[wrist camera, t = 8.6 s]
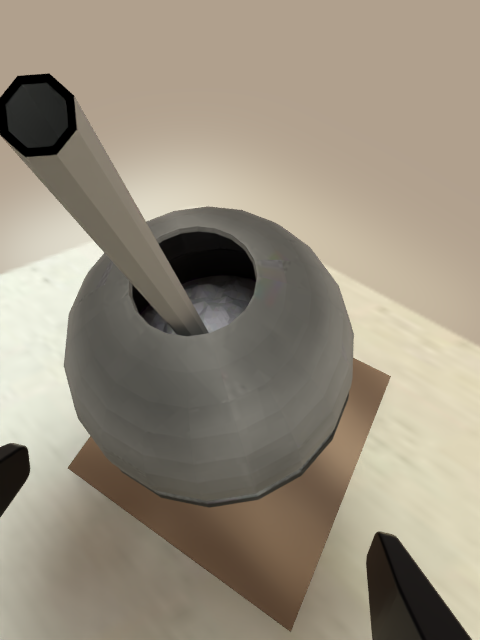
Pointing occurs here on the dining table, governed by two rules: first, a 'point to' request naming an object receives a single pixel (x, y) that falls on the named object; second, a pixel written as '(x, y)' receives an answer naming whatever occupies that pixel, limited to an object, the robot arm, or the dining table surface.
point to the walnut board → (256, 512)
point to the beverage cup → (187, 324)
